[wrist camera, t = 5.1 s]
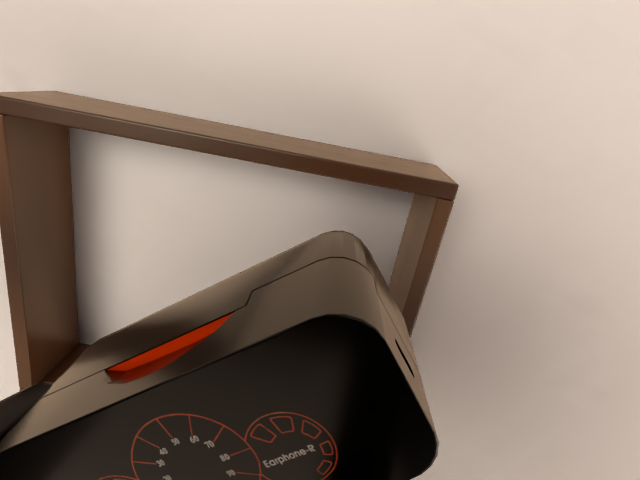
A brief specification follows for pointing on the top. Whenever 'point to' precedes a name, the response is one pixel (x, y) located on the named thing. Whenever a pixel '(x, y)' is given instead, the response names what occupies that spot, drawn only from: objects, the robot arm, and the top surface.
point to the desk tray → (176, 131)
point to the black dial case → (243, 384)
